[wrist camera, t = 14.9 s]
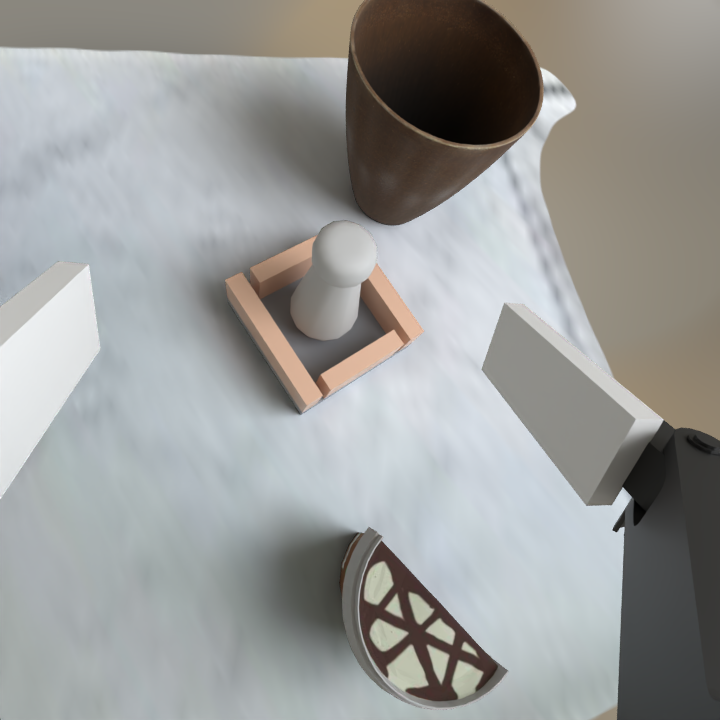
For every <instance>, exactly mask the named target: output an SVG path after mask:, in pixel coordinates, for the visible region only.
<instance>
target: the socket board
mask: <svg viewBox="0 0 720 720" xmlns="http://www.w3.org/2000/svg"><path fill="white" fill-rule="evenodd" d="M316 237H317V236H314V237H312V238H310V239H308V240H306V241H304V242H302V243H300V244H298V245H296V246H294V247H292V248H290V249H288V250H286V251H284V252H282V253H279V254H277V255H275V256H273V257H271V258H269V259H267V260H265V261H263V262H261V263H259V264H257V265H255V266H253V267H251V268H250V284H249V282H248V280H247V279H246V277H245V276H244V274H243V273H242V272H240V273H238V274H236V275H234V276H232V277H230V278H228V279H226V280H225V283H226V290H227V297H228V303H229V305H230V306H231V308H232V309H233V311H234V312H235V314H236V316H237V317H238V319H239V320H240V322H241V323H242V325H243V326H244V328H245V329H246V331H247V333H248V334H249V336H250V337H251V339H252V340H253V342H254V343H255V345H256V346H257V348H258V349H259V351H260V353H261V354H262V356H263V357H264V359H265V360H266V362H267V363H268V365H269V366H270V368H271V370H272V371H273V373H274V374H275V376H276V377H277V379H278V380H279V382H280V383H281V385H282V387H283V388H284V390H285V391H286V393H287V394H288V396H289V397H290V399H291V400H292V402H293V404H294V405H295V407H296V408H297V410H298V411H299V413H300V414H303V413H305V412H306V411H308V410H309V409H311V408H312V407H314V406H316V405H317V404H319V403H320V402H322V401H323V400H325V399H326V398H328V397H330V396H331V395H333V394H334V393H336V392H337V391H339V390H341V389H342V388H344V387H345V386H347V385H348V384H350V383H352V382H353V381H355V380H356V379H358V378H359V377H361V376H363V375H364V374H366V373H367V372H369V371H370V370H372V369H374V368H375V367H377V366H378V365H380V364H381V363H383V362H384V361H386V360H388V359H389V358H391V357H392V356H394V355H395V354H397V353H399V352H400V351H402V350H403V349H405V348H406V347H408V346H409V345H410V344H411V343H412V342H413V341H414V340H415V339H416V338H417V337H419V336H420V335H421V334H422V333H423V332H424V330H423V329H422V328H421V326H420V325H419V323H418V322H417V320H416V319H415V317H414V316H413V315H412V313H411V312H410V310H409V309H408V307H407V306H406V305H405V303H404V302H403V300H402V299H401V297H400V296H399V295H398V293H397V292H396V290H395V289H394V287H393V286H392V284H391V283H390V282H389V280H388V279H387V277H386V276H385V274H384V273H383V272H382V270H381V269H380V267H379V266H378V264H377V263H376V265H375V267H374V269H373V271H372V273H371V275H370V276H369V277H368V279H366V280H365V281H363V282H362V283H361V289H360V298H359V307H358V316H357V319H356V320H355V322H354V324H353V326H352V328H351V329H350V330H349V331H348V332H346V333H345V334H344V335H342V336H341V337H340V338H338V339H334V340H327V341H321V340H317V339H313V338H310V337H308V336H307V335H305V334H304V333H303V332H302V331H300V330H299V329H298V328H297V327H296V325H295V322H294V320H293V318H292V316H291V313H290V307H291V297H292V295H293V293H294V291H295V290H296V288H297V286H298V284H299V283H300V282H301V280H302V279H303V277H304V276H305V274H306V273H307V272H308V270H309V269H310V267H311V266H312V246H313V242H314V241H315V239H316Z"/></svg>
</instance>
